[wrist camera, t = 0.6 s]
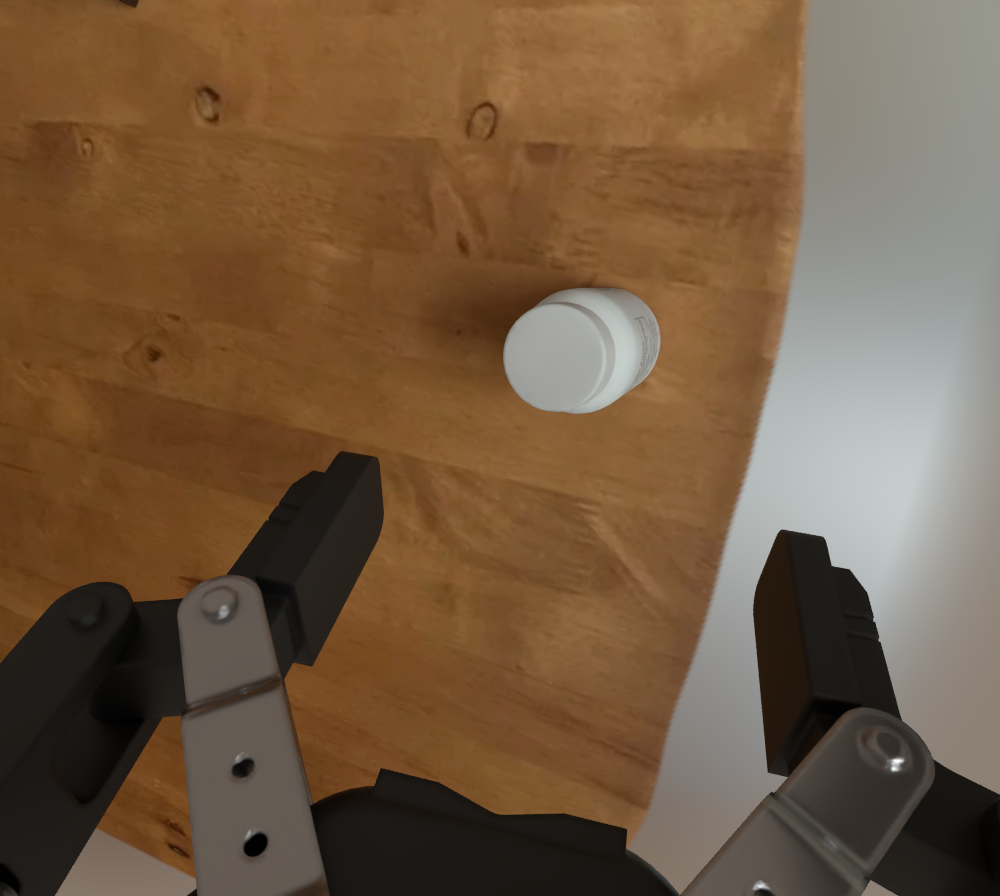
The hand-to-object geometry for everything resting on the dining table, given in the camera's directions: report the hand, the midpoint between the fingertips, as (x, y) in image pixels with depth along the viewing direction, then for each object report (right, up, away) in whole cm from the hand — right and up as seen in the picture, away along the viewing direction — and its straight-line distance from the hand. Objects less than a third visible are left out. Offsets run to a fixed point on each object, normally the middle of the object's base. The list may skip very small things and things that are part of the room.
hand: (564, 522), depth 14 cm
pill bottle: (+3, +6, +15) cm, 16 cm away
